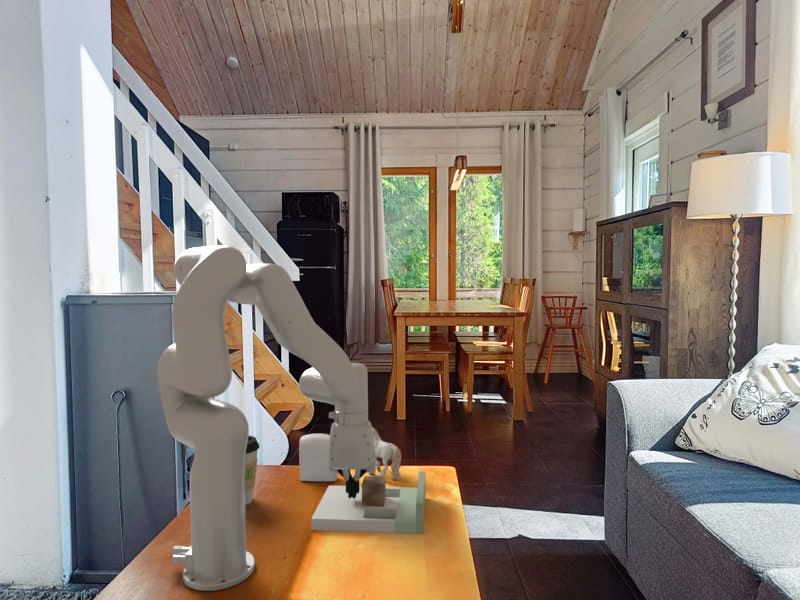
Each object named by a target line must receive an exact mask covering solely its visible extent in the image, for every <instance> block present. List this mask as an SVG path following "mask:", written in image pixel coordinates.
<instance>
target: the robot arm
mask: <svg viewBox="0 0 800 600" xmlns="http://www.w3.org/2000/svg"><path fill="white" fill-rule="evenodd" d="M173 274H174V275H173V276H174V278H175V279H176V281H177V283H178V284H179V285H180V287H179V289H178V291H177V293H176V295H175V298H174V300H173V304H172V310H171V321H172V323H171V324H172V330H173V339H174V343H171V345H169V346H168V347H167V348H165V349H164V351H163V352H162V354H161V356H160V358H159V361H158V364H157V371H156V372H157V373H156V375H157V382H158V387H159V392H160V398H161V403H162V408H163V413H164V418H165V422H166V426H167V429H168V431H169V433H170V434H171V436H172V437H173V438H174V439H175V440H176V441H177V442H180V443H181V444H182V445H185V446H187V447H189V448H191V449H192V450H194V456H193V461H192V465H191V468H190V473H189V507H190V510H189V511H190V514H189V515H190V546H185V545H174V546H173V548H172V550H171V557H172V558H171V562H172V563H173V564H181V563H182V564H184V565H185V566H184V568H183V569H182V582H183V583H184V585H185V586H186V587H188V588H189V589H193V590H196V591H201V592H202V591H204V592H213V591H214V592H215V591H221V590H224V589H229V588H230V587H233V586H236V585H238V584H240V583H242V582H243V581H246V579H248V578H249V576H251V575H252V574H253V572H254V570H255V567H256V561H255V557H254V555H253V554H252V553H251V552H249V551H247V541H246V540H247V537H246V536H247V535H246V532H247V530H246V506H245V474H244V469H245V454H246V447H247V442H248V436H250V434H249V431H250V429H249V422H248V419H247V417H246V415H245V414H244V412H242V411H241V409H239V408H238V407H237V406H235V405H234V404H231V403H229V402H226V401H222V400H218V399H216V398H215V397H218V396H220V395H222V394H223V393H224V392H226V391H227V390H228V388H229V387H230V385H231V383H232V382H231V381H232V378H233V370H232V369H233V368H232V363H231V359H230V353H229V346H228V342H227V336H226V329H225V319H224V318H225V317H224V316H225V309H226V306H227V303H228V302H231V303H236V304H243V305H251V306H253V305H254V306H256V308H257V309H258V312H259V313H260V314H261V316H262V318H263V320H264V322H265V323H266V325H267V327H268V328H269V329H270V331H271V333H272V335H273V336H274V337H273V338H274V339H275V341H276V342H277V344H279V345H280V346H281V347H282V348H284V349H285V350H286V351H288V352H289V353H291V354H293V355H294V356H296V357H298V358H300V359H301V360H303V361H305V362H306V363H307V364H309V365H310V366H311V367H309V368H307V369H306V370H304V372H302V374H301V376H300V377H299V383H298V387H299V390H300V392H301V394H303V396H304V397H305V398H307V399H309V400H312V401H316V402H320V403H326V404H329V405H333V406H334V411H329V413H328V419H333V420H334V422H332V423H331V427H330V434H329V435H330V442H329V470H330V471H333V472H338V474H339V475H340V476H341V477H342V478H343V480H344V481H345V486H346V493H348V498H356V495H357V493H359V490H360V479H361V478H362V477H363V476H365V474H367V473H368V474H369V472H373V471H375V469H376V470H377V468H376V465H375V462H374V457H375V453H374V439H373V431H372V427H373V426H372V423H371V421H370V420H369V396H368V395H369V391H368V389H369V388H368V387H369V386H368V384H369V383H368V376H369V375H368V368H367V366H366V365H365V364H364V363H360V362H351V360H350V358H349V356H348V355H347V354H346V352H345V351H344V350H343V349H342V347H341V346H340V345H339V344H338V343H337V342H336V341H335V340H334V339H333V338H332V337H331V336H330V335H329V334H328V333H326V331H324V330H323V329H322V328H321V327H320V326H319V325H318V324H316V322H315V321H314V319H313V317H312V316H311V314H310V311H309V309H308V308H307V306H306V304H305V302H304V300H303V298H302V296H301V295H300V293H299V291H298V289H297V287H296V285H295V284H294V282H293V279H292V278H291V276H290V274H289V273H288V271H287V270H286V269H285V268H284V267H283V266H281V265H279V264H276V263H269V262H268V263H267V262H263V263H261V262H259V263H247V261H246V257H245V256H244V254H243V253H242V251H240V250H239V249H237V248H236V247H233V246H231V245H230V246H229V245H222V244H221V245H219V244H218V245H207V246H199V247H198V246H197V247H191V248H188V249H185V250H184V251H182V252H181V253H180V254H179V255H178V256H177V257H176V258H175V261H174V264H173ZM351 470H354V475H352V472H351ZM375 472H376V471H375Z"/></svg>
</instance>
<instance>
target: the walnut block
mask: <svg viewBox="0 0 800 600" xmlns="http://www.w3.org/2000/svg"><path fill="white" fill-rule="evenodd" d="M363 476H364V477H363V480H362V483H361V486H362V506H375V507H384V504H385V499H386V487H387V482H386V481H387V480H386V479H387V476H386V475H385V476H380V475H379V476H378V475H377V476H376V475H374V476H372V475H363Z"/></svg>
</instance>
